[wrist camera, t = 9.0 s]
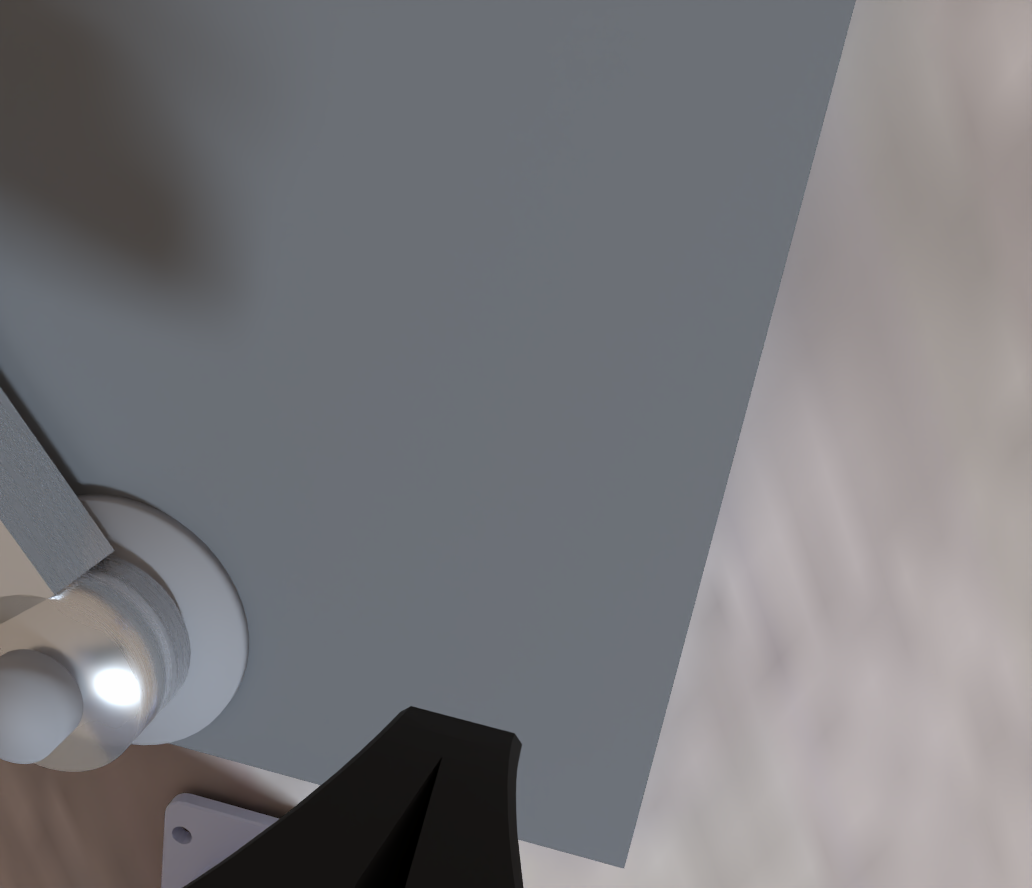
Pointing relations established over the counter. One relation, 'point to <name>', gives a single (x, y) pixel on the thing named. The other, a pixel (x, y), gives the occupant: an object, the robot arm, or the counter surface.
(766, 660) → the counter surface
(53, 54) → the mat
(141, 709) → the swing link
